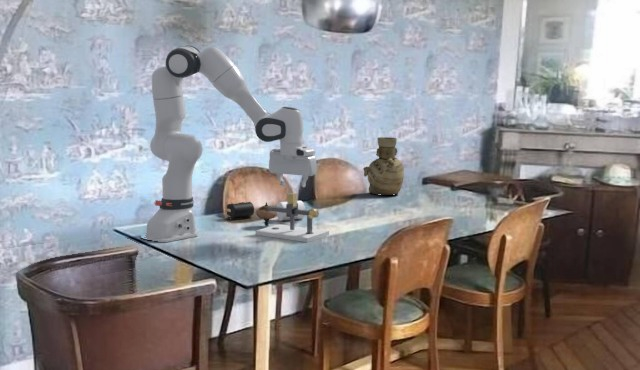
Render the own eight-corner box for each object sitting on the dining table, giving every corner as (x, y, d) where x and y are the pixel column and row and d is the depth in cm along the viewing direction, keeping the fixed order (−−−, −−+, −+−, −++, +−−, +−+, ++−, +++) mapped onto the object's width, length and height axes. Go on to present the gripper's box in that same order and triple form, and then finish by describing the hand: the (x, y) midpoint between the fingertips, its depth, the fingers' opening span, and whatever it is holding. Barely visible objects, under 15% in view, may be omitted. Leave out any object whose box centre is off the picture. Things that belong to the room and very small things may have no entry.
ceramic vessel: (363, 191, 377) (364, 135, 373) (402, 191, 375) (403, 136, 371) (362, 197, 358) (363, 138, 354) (404, 197, 357) (405, 139, 352)
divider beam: (315, 234, 261) (315, 209, 260) (267, 228, 273) (267, 204, 272) (318, 233, 263) (318, 208, 262) (271, 227, 275) (270, 203, 274)
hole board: (307, 242, 256) (307, 237, 256) (255, 234, 269) (255, 230, 268) (329, 234, 269) (329, 230, 268) (278, 227, 281) (278, 224, 281)
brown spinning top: (252, 226, 285) (251, 201, 283) (268, 223, 290) (268, 199, 289) (264, 229, 279) (263, 204, 277) (280, 226, 284) (280, 202, 283)
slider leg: (291, 231, 266) (291, 194, 264) (286, 230, 267) (286, 194, 265) (298, 229, 270) (298, 193, 267) (292, 228, 271) (292, 192, 269)
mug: (276, 219, 300) (276, 200, 299) (297, 217, 304) (297, 199, 303) (287, 224, 289) (287, 205, 288) (309, 222, 294) (309, 203, 293)
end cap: (235, 221, 296) (234, 205, 295) (226, 218, 301) (225, 203, 300) (254, 218, 302) (254, 202, 301) (245, 215, 308) (245, 200, 307)
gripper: (264, 149, 267) (265, 185, 269) (309, 152, 256) (310, 189, 258) (274, 147, 272) (275, 182, 274) (318, 150, 261) (319, 186, 263)
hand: (292, 186), depth 266 cm, fingers open, 8 cm apart
